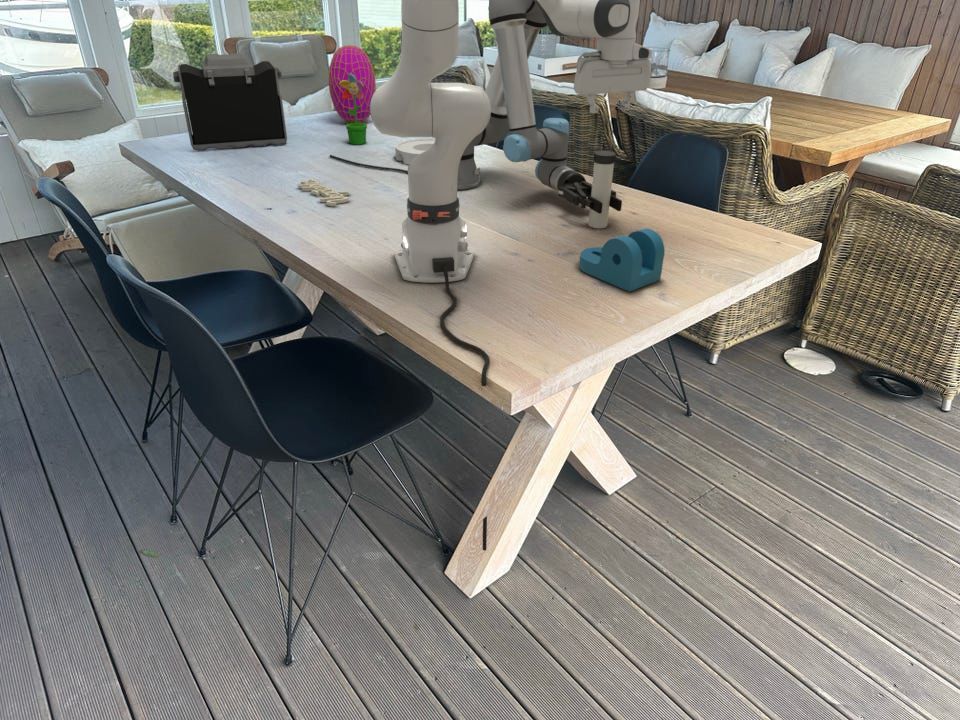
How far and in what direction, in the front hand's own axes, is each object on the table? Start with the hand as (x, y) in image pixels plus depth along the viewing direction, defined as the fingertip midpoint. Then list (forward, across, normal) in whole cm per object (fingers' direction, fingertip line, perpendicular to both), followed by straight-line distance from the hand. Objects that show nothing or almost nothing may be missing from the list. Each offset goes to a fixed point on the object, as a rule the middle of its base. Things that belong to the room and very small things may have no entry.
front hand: (609, 111), depth 170 cm
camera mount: (+29, -15, -29) cm, 44 cm away
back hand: (+23, 0, -5) cm, 23 cm away
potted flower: (+29, -32, +115) cm, 123 cm away
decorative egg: (+29, -22, +151) cm, 155 cm away
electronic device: (+29, -73, +134) cm, 155 cm away
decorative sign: (+29, -60, +57) cm, 87 cm away
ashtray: (+29, -16, +84) cm, 90 cm away
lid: (+10, 0, 0) cm, 10 cm away
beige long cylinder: (+29, 0, 0) cm, 29 cm away
